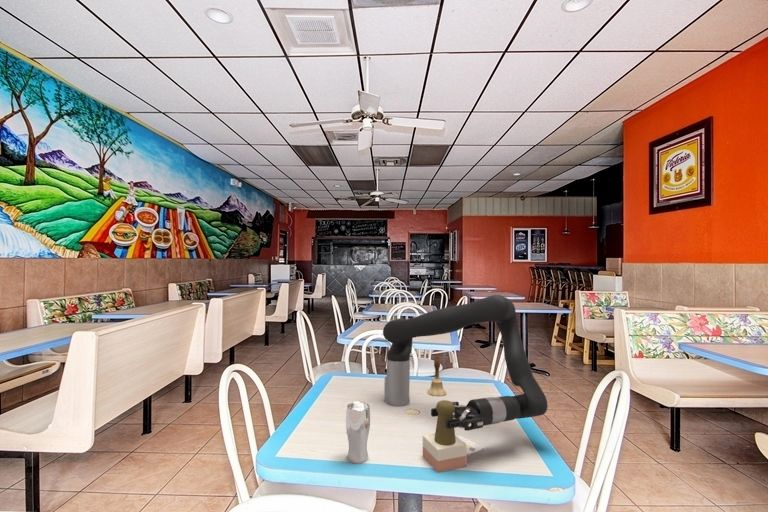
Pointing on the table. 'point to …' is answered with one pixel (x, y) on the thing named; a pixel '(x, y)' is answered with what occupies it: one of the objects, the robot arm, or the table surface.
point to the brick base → (444, 463)
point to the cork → (444, 413)
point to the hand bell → (436, 381)
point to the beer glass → (357, 431)
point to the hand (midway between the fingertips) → (438, 418)
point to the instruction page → (470, 446)
